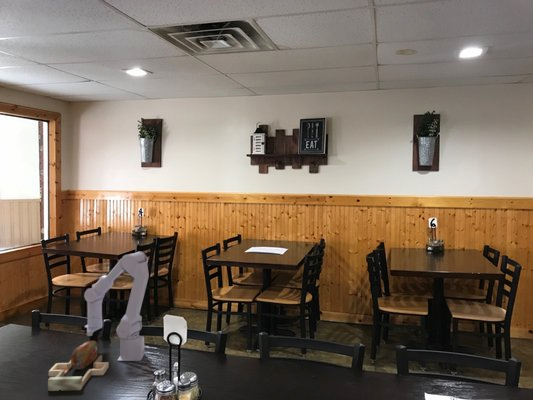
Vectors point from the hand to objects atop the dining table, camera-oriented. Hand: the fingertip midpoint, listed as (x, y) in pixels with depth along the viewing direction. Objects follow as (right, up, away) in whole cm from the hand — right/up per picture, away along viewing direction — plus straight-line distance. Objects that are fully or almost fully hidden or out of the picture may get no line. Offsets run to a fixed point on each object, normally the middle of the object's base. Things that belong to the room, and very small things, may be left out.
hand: (95, 346), depth 185 cm
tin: (+1, -3, -12) cm, 13 cm away
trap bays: (+1, -3, -19) cm, 19 cm away
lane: (+2, -3, -20) cm, 21 cm away
